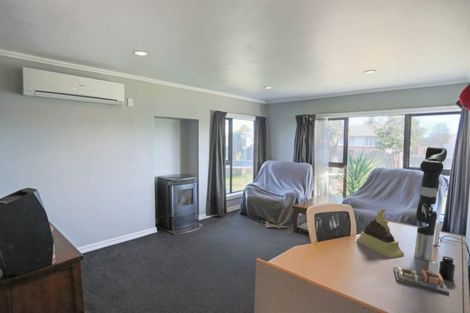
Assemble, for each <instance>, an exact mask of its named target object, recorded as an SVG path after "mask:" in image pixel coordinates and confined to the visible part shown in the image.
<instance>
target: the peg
mask: <svg viewBox="0 0 470 313" xmlns="http://www.w3.org/2000/svg"><path fill="white" fill-rule="evenodd" d="M438 268H439V263H438V262H437V261H435V260H430V261H428V269H427V271H428V275H427V276H428V278H429V276H431V277H435V278H437V273H438V271H439V269H438Z"/></svg>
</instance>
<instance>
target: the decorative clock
mask: <svg viewBox="0 0 470 313" xmlns="http://www.w3.org/2000/svg"><path fill="white" fill-rule="evenodd" d="M385 218H386V209H385V208H381V209H380V210H378V212H377V214H376V218H375V219H374V220H371V221H370V222H369V223H368V224H366V225H365V227H364V230H363V231H361V232H360V235H359V237H358V238H356V242H357V243H358V244H361V245H363V246H364V247H367V248H369V249H371V250H373V251H375V252H377V253H379V254H381V255H383V256H386V257H387V258H389V259H394V258H398V257H399V258H400V257H404V255H405V253H404V252H403V251H402V250H401V248H400V246H399V241H397V240H395V237H394V235H393V234H392V232H391V229H390V227H389V221H388V220H387V219H385Z"/></svg>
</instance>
